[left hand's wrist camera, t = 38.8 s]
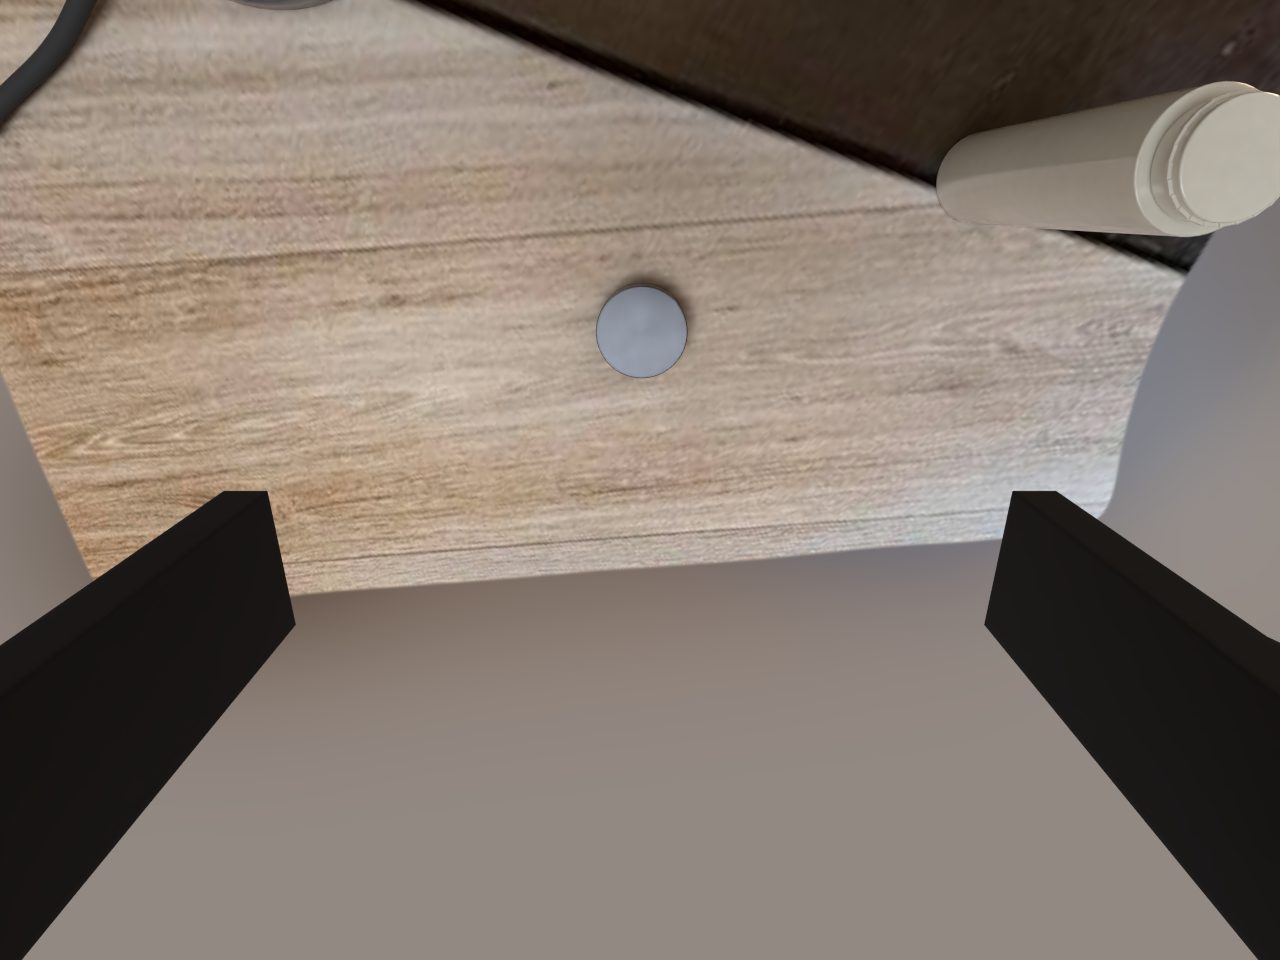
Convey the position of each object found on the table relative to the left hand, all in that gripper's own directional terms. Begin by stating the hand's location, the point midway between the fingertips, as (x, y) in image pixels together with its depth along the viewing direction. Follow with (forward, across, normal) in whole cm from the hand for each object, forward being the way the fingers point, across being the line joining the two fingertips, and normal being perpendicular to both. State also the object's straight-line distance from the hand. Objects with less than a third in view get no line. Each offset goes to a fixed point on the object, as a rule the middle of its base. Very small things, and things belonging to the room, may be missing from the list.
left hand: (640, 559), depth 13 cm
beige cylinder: (+28, +17, +7) cm, 33 cm away
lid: (+26, 0, 0) cm, 27 cm away
